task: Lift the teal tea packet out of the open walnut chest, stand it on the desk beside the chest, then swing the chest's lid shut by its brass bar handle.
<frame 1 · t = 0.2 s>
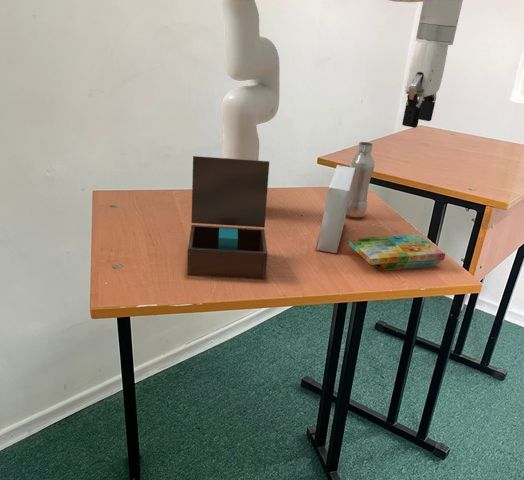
hand: (416, 123, 128), 31 cm above the table, tool pointing down, fingers open, 9 cm apart
packet: (226, 267, 129), point 1 cm above the table, touching chest
silver metal bottle: (353, 216, 167), on the table
lid: (229, 191, 132), point 14 cm above the table, hinge at 100.0°
skincare box: (332, 238, 152), on the table
puzzle game: (392, 261, 142), on the table
chest: (226, 266, 131), on the table
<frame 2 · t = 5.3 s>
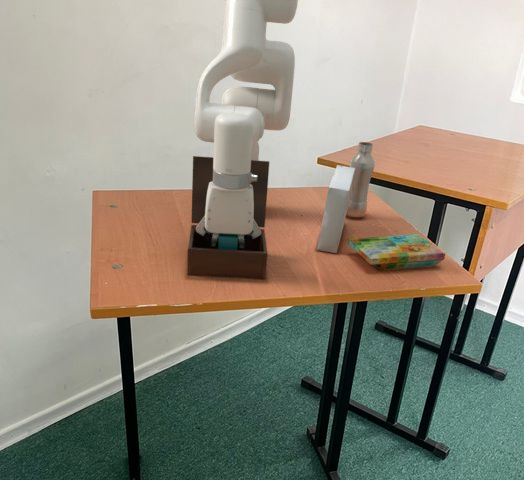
hand: (226, 261, 129), 2 cm above the table, tool pointing down, fingers closed on packet, 4 cm apart
packet: (226, 267, 129), point 1 cm above the table, touching chest, gripper
everything else where it was.
when the fingers open (1 cm above the table, at t = 12.9 s): packet stays where it is, on the table.
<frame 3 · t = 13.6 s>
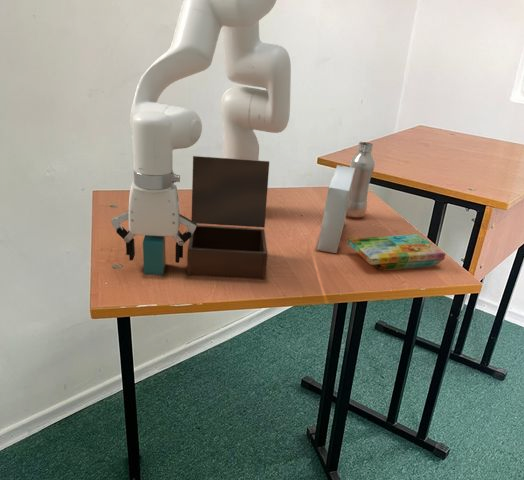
hand: (155, 259, 125), 3 cm above the table, tool pointing down, fingers open, 9 cm apart
packet: (154, 272, 126), on the table
everything else where it was.
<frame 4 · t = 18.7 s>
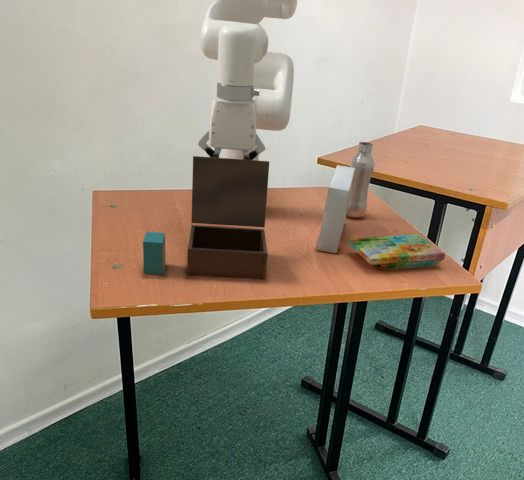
hand: (230, 178, 133), 16 cm above the table, tool pointing down, fingers closed on lid, 5 cm apart
lid: (229, 191, 132), point 14 cm above the table, hinge at 100.0°, touching gripper
everything else where it was.
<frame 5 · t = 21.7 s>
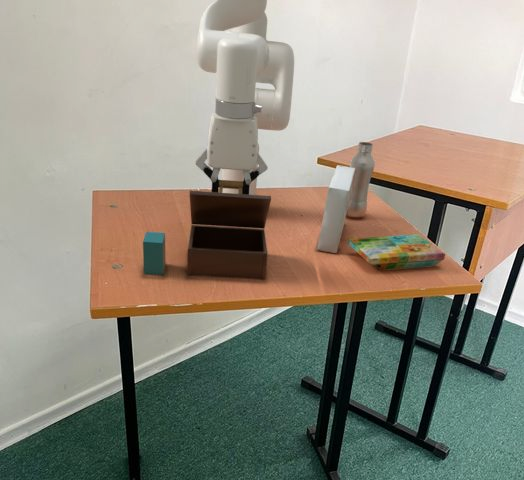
hand: (229, 199, 124), 15 cm above the table, tool pointing down, fingers closed on lid, 5 cm apart
lid: (229, 202, 127), point 14 cm above the table, hinge at 45.5°, touching gripper
everything else where it was.
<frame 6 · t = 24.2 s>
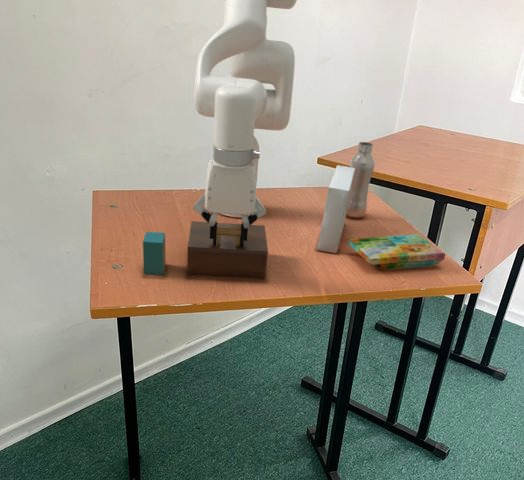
hand: (228, 241, 124), 8 cm above the table, tool pointing down, fingers closed on lid, 5 cm apart
lid: (228, 228, 126), point 9 cm above the table, hinge at -0.2°, touching chest, gripper
everything else where it was.
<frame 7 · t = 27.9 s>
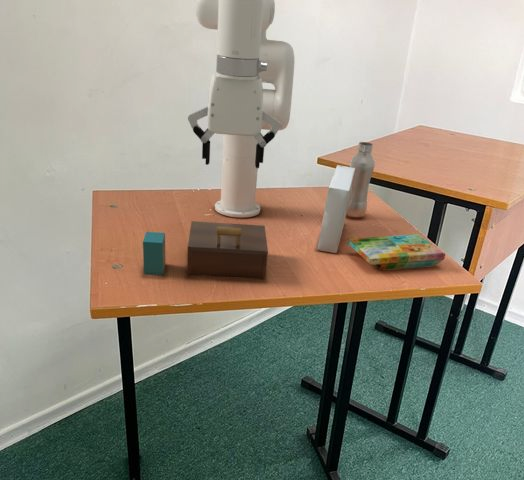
hand: (232, 164, 114), 24 cm above the table, tool pointing down, fingers open, 9 cm apart
lid: (228, 228, 126), point 9 cm above the table, hinge at -0.2°, touching chest
everything else where it was.
at the end: packet inside the target area (0.1 cm from its centre), on the table; packet tilted 0°; lid at +0° (first picture: +100°) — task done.
